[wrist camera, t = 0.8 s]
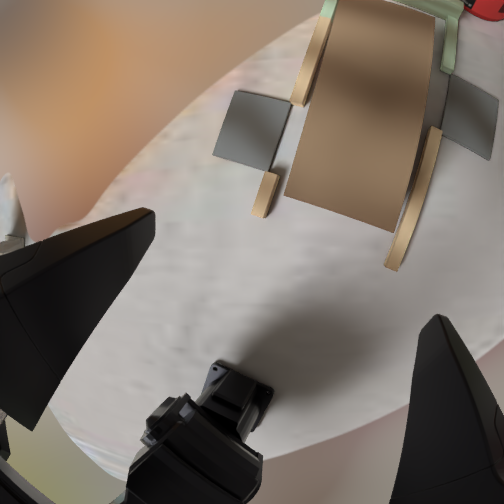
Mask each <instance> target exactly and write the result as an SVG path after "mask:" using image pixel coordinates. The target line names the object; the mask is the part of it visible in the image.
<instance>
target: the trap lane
mask: <svg viewBox="0 0 504 504" xmlns="http://www.w3.org/2000/svg"><path fill="white" fill-rule="evenodd" d="M338 1H339V0H325V3H324V5H323V8H322V11H321V13H320V16H319V19H318V22H317V24H316V27H315V30H314V33H313V36H312V38H311V41H310V44H309V47H308V49H307V52H306V55H305V58H304V61H303V63H302V66H301V69H300V72H299V75H298V78H297V80H296V83H295V86H294V89H293V92H292V95H291V97H290V102H291V103H289V102H285V101H281V100H277V99H273V98H268V97H264V96H259V95H255V94H250V93H245V92H240V91H235V92H234V95H233V97H232V100H231V103H230V106H229V108H228V111H227V114H226V117H225V119H224V122H223V125H222V128H221V131H220V134H219V137H218V139H217V142H216V145H215V148H214V151H213V154H212V155H213V156H217V157H220V158H224V159H227V160H231V161H234V162H237V163H241V164H244V165H247V166H250V167H253V168H257V169H260V170H263V171H265V173H264V176H263V179H262V182H261V185H260V188H259V191H258V194H257V197H256V200H255V203H254V206H253V209H252V212H251V214H252V215H255V216H258V217H260V218H266V216H267V213H268V210H269V207H270V204H271V201H272V199H273V196H274V193H275V190H276V187H277V184H278V181H279V178H280V176H279V175H276V174H273V173H270V172H269V169H270V166H271V163H272V160H273V157H274V154H275V151H276V149H277V146H278V143H279V140H280V137H281V134H282V131H283V128H284V125H285V122H286V119H287V117H288V114H289V111H290V108H291V105H292V104H293V105H296V106H300V107H304V105H305V102H306V99H307V96H308V93H309V90H310V87H311V84H312V81H313V78H314V75H315V72H316V69H317V66H318V63H319V61H320V58H321V55H322V52H323V49H324V46H325V43H326V40H327V37H328V34H329V31H330V28H331V25H332V22H333V19H334V16H335V13H336V9H337V5H338ZM394 1H397V2H400V3H403V4H406V5H409V6H412V7H414V8H417V9H420V10H422V11H425V12H427V13H430V14H432V15H434V16H437V17H439V18H441V19H444V20H446V24H445V35H444V44H443V52H442V60H441V66H440V70H441V71H443V72H445V73H447V74H449V75H450V80H449V86H448V92H447V98H446V104H445V109H444V114H443V119H442V123H441V128H440V129H438V128H436V127H433V126H431V127H430V128H429V129H428V132H427V136H426V140H425V144H424V148H423V151H422V155H421V159H420V162H419V166H418V169H417V172H416V176H415V179H414V182H413V186H412V189H411V192H410V195H409V198H408V201H407V204H406V207H405V210H404V213H403V216H402V218H401V221H400V224H399V227H398V229H397V232H396V235H395V237H394V240H393V243H392V245H391V248H390V250H389V253H388V255H387V258H386V260H385V263H384V266H385V267H386V268H389V269H391V270H394V271H396V272H397V271H398V268H399V266H400V264H401V261H402V259H403V256H404V254H405V251H406V249H407V246H408V243H409V241H410V238H411V236H412V233H413V230H414V227H415V225H416V222H417V219H418V216H419V213H420V210H421V207H422V204H423V201H424V198H425V195H426V192H427V189H428V185H429V182H430V179H431V175H432V172H433V168H434V165H435V161H436V157H437V153H438V149H439V145H440V141H441V137H442V136H444V137H446V138H448V139H450V140H452V141H454V142H456V143H458V144H460V145H462V146H464V147H465V148H467V149H469V150H471V151H473V152H474V153H476V154H478V155H480V156H481V157H483V158H485V159H486V160H488V161H489V160H490V157H491V152H492V146H493V140H494V134H495V127H496V120H497V112H498V102H499V100H497V99H496V98H494V97H492V96H491V95H489V94H488V93H486V92H484V91H482V90H481V89H479V88H477V87H475V86H474V85H472V84H470V83H468V82H466V81H465V80H463V79H461V78H459V77H457V76H455V75H453V74H451V73H452V72H453V71H454V63H455V55H456V44H457V30H458V19H459V17H460V15H461V13H462V11H463V9H464V2H462V1H460V0H394Z"/></svg>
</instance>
